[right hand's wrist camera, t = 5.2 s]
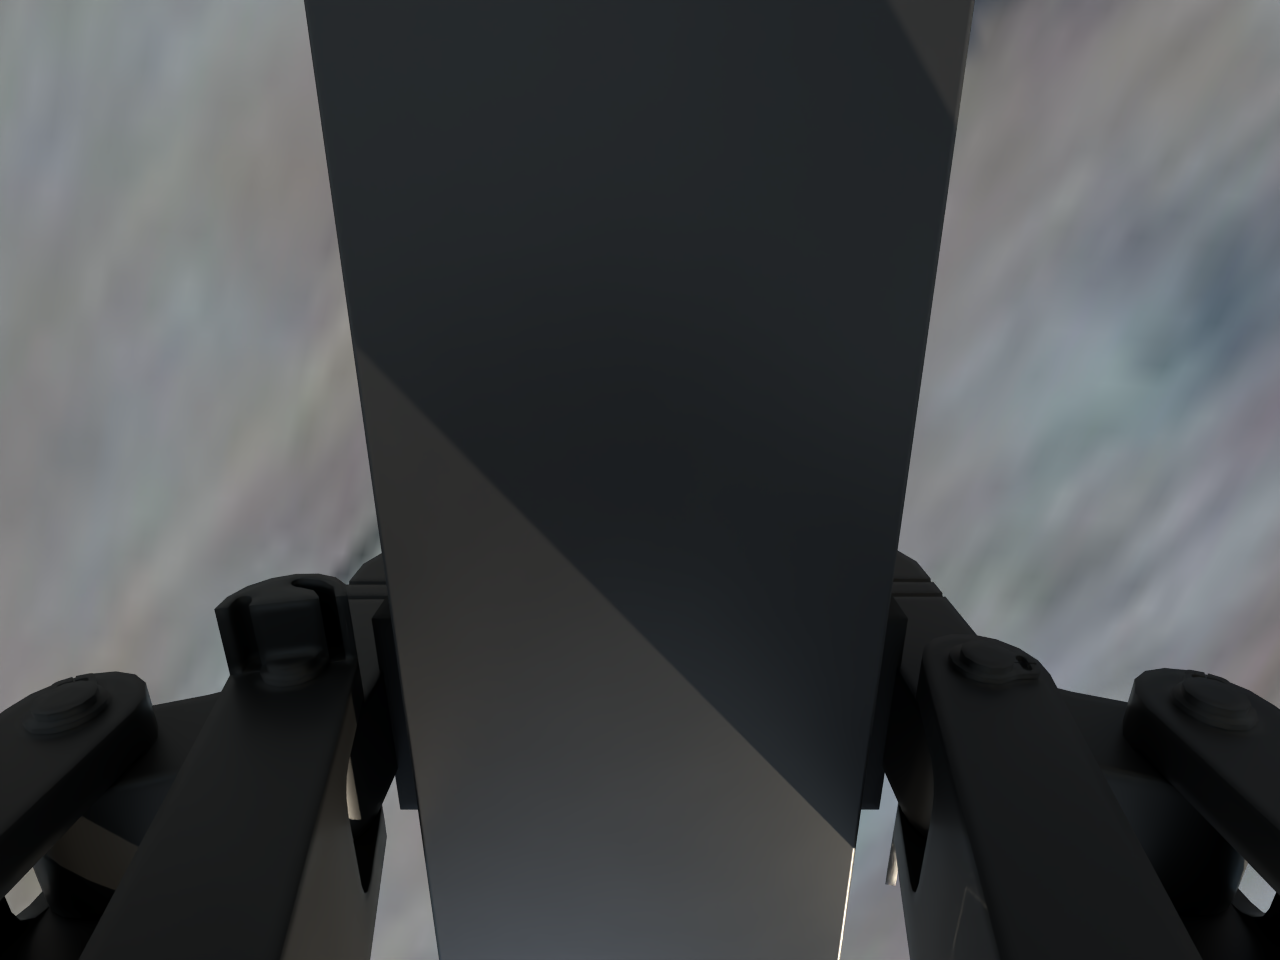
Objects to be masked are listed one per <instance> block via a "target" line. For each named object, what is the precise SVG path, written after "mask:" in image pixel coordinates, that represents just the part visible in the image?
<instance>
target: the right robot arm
mask: <svg viewBox="0 0 1280 960" xmlns="http://www.w3.org/2000/svg"><path fill="white" fill-rule="evenodd" d="M214 610H215V614H216V618H217V622H218V626H219V630H220V635H221V639H222V643H223V647H224V651H225V655H226V660H227V664H228V668H229V672H230V676H229V678H228V680H227V682H226V684H225V686H224V688H223V690H222V691H221V692H218V693H214V694H210V695H206V696H200V697H195V698H190V699H185V700H179V701H174V702H169V703H164V704H158V705H153V706H152V703H151V700H150V696H149V693H148V689H147V686H146V683H145V682H144V681H143V680H142V679H140V678H139V677H138V676H137V675H135V674H129V673H122V672H106V673H95V674H93V673H90V674H84V675H79V676H76V678H73V677H71V678H68V679H64V680H61V681H58V682H56V683H54V684H52V685H51V686H49V687H47V688H44V689H42V690H40V691H37V692H35V693H33V694H30V695H29V696H27V697H25V698H24V699H22V700H21V701H19V702H17V703H16V704H14V705H12V706H11V707H9V708H7V709H6V710H4V711H3V712H2V713H0V960H370V956H371V949H372V941H373V934H374V927H375V919H376V912H377V905H378V897H379V890H380V883H381V875H382V868H383V861H384V853H385V846H386V839H387V835H386V827H385V820H384V814H383V807H382V803H383V801H384V799H385V796H386V794H387V792H388V790H389V787H390V785H391V783H392V781H393V778H394V776H395V777H396V784H397V790H398V797H399V803H400V809H418V806H417V799H416V792H415V785H414V777H413V770H412V763H411V756H410V749H409V742H408V735H407V728H406V721H405V714H404V706H403V699H402V692H401V685H400V678H399V671H398V664H397V657H396V650H395V643H394V635H393V628H392V621H391V614H390V607H389V600H388V593H387V586H386V579H385V572H384V564H383V557H382V553H381V554H380V555H378V556H376V557H374V558H373V559H371V560H369V561H368V562H366V563H364V564H363V565H362V566H361V568H360V569H359V570H358V571H357V572H356V574H355V575H354V576H353V577H352V579H351V580H350V581H349V585H346V584H344V583H343V582H341V581H340V580H339V579H337V578H336V577H331V576H327V575H322V574H293V575H288V576H282V577H276V578H271V579H268V580H265V581H262V582H259V583H256V584H253V585H250V586H247V587H245V588H243V589H241V590H240V591H238V592H236V593H234V594H232V595H230V596H228V597H227V598H226V599H225V600H224V601H223V602H222V603H220V604H219V605H218V606H217V607H216V608H215V609H214ZM884 774H886V776H887V778H888V780H889V783H890V785H891V787H892V789H893V792H894V794H895V796H896V798H897V801H898V807H897V814H896V820H895V826H894V832H893V838H892V844H891V850H890V856H889V863H888V869H887V876H886V884H887V885H892V886H895V884H896V878H897V873H898V874H899V881H900V888H901V896H902V903H903V910H904V918H905V925H906V932H907V940H908V947H909V954H910V960H1280V709H1279V708H1277V707H1276V706H1274V705H1273V704H1271V703H1269V702H1268V701H1266V700H1264V699H1263V698H1261V697H1259V696H1258V695H1256V694H1254V693H1253V692H1251V691H1249V690H1247V689H1245V688H1242V687H1240V686H1237V685H1235V684H1233V683H1230V682H1229V681H1228V680H1226V679H1224V678H1221V677H1218V676H1215V675H1211V674H1208V675H1205V673H1204V672H1199V671H1194V670H1179V669H1169V668H1162V669H1155V670H1149V671H1145V672H1143V673H1142V674H1141V675H1139V676H1138V677H1137V678H1136V679H1135V680H1134V684H1133V687H1132V690H1131V694H1130V697H1129V701H1128V702H1123V701H1118V700H1112V699H1107V698H1102V697H1097V696H1091V695H1086V694H1081V693H1075V692H1071V691H1067V690H1063V689H1059V688H1057V686H1056V685H1055V683H1054V681H1053V679H1052V677H1051V675H1050V674H1049V673H1048V671H1047V670H1046V669H1045V668H1044V667H1043V666H1042V664H1041V663H1040V662H1039V661H1038V660H1037V659H1035V658H1033V657H1032V656H1030V655H1029V654H1027V653H1026V652H1024V651H1022V650H1021V649H1019V648H1017V647H1014V646H1012V645H1009V644H1007V643H1004V642H1002V641H999V640H997V639H992V638H987V637H982V636H977V635H976V633H975V632H974V631H973V630H972V629H971V627H970V626H969V625H968V624H967V622H966V621H965V620H964V619H963V618H962V616H961V615H960V614H959V613H958V612H957V610H956V609H955V608H954V607H953V605H952V604H951V603H950V602H949V601H948V599H947V598H946V597H943V596H942V592H941V591H940V590H939V588H938V587H937V586H936V585H935V583H934V582H931V579H930V577H929V576H928V575H927V574H926V573H925V571H924V570H923V569H922V568H921V566H920V565H919V564H918V563H917V562H916V561H915V560H913V559H911V558H910V557H908V556H906V555H904V554H903V553H901V552H899V551H898V550H897V557H896V564H895V571H894V578H893V585H892V592H891V599H890V607H889V614H888V621H887V628H886V635H885V642H884V649H883V656H882V664H881V671H880V678H879V685H878V692H877V699H876V706H875V713H874V720H873V728H872V735H871V742H870V749H869V756H868V763H867V770H866V777H865V785H864V792H863V799H862V806H861V809H879V807H880V800H881V794H882V787H883V780H884ZM1248 863H1249V864H1250V865H1251V866H1252V867H1253V868H1254V869H1255V870H1256V871H1257V873H1258V874H1259V875H1260V876H1261V877H1262V878H1263V879H1264V880H1265V881H1266V882H1267V883H1268V884H1269V885H1270V886H1271V887H1272V888H1273V889H1274V890H1275V891H1276V894H1275V897H1274V899H1273V901H1272V904H1271V906H1270V908H1269V910H1268V911H1267V912H1266V913H1263V912H1262V911H1261V910H1259V909H1258V908H1257V907H1256V906H1255V905H1254V904H1252V903H1251V902H1250V901H1249V900H1248V899H1247V897H1246V896H1245V895H1244V894H1243V893H1242V892H1241V891H1240V890H1239V889H1238V887H1239V884H1240V882H1241V879H1242V877H1243V874H1244V872H1245V869H1246V867H1247V864H1248ZM32 867H33V868H34V871H35V873H36V876H37V878H38V881H39V883H40V886H41V888H42V892H41V894H40V895H39V896H38V897H37V898H36V899H35V900H34V901H33V902H32V903H31V905H30V906H28V907H27V908H26V909H24V910H23V911H22V912H21V913H19V914H18V915H17V916H15V915H14V914H13V913H12V912H11V910H10V908H9V905H8V903H7V901H6V898H5V895H6V894H7V893H8V892H9V891H10V890H11V889H12V888H13V887H14V886H15V885H16V884H17V883H18V882H19V881H20V880H21V879H22V877H23V876H24V875H25V874H26V873H27V872H28V871H29V870H30V869H31V868H32Z"/></svg>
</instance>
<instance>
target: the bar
mask: <svg viewBox="0 0 1280 960" xmlns="http://www.w3.org/2000/svg"><path fill="white" fill-rule="evenodd" d="M974 1H975V0H304V4H305V11H306V18H307V25H308V32H309V39H310V46H311V53H312V60H313V67H314V75H315V82H316V89H317V96H318V103H319V110H320V117H321V124H322V131H323V138H324V146H325V153H326V160H327V167H328V174H329V181H330V188H331V195H332V202H333V209H334V217H335V224H336V231H337V238H338V245H339V252H340V259H341V266H342V273H343V280H344V288H345V295H346V302H347V309H348V316H349V323H350V330H351V337H352V344H353V351H354V359H355V366H356V373H357V380H358V387H359V394H360V401H361V408H362V415H363V422H364V430H365V437H366V444H367V451H368V458H369V465H370V472H371V479H372V486H373V493H374V501H375V508H376V515H377V522H378V529H379V536H380V543H381V550H382V557H383V564H384V572H385V579H386V586H387V593H388V600H389V607H390V614H391V621H392V628H393V635H394V643H395V650H396V657H397V664H398V671H399V678H400V685H401V692H402V699H403V706H404V714H405V721H406V728H407V735H408V742H409V749H410V756H411V763H412V770H413V777H414V785H415V792H416V799H417V806H418V813H419V820H420V827H421V834H422V841H423V848H424V856H425V863H426V870H427V877H428V884H429V891H430V898H431V905H432V912H433V919H434V927H435V934H436V941H437V948H438V955H439V960H840V955H841V948H842V941H843V934H844V927H845V920H846V913H847V906H848V898H849V891H850V884H851V877H852V870H853V863H854V856H855V849H856V842H857V834H858V827H859V820H860V813H861V806H862V799H863V792H864V785H865V777H866V770H867V763H868V756H869V749H870V742H871V735H872V728H873V720H874V713H875V706H876V699H877V692H878V685H879V678H880V671H881V664H882V656H883V649H884V642H885V635H886V628H887V621H888V614H889V607H890V599H891V592H892V585H893V578H894V571H895V564H896V557H897V550H898V542H899V535H900V528H901V521H902V514H903V507H904V500H905V493H906V486H907V478H908V471H909V464H910V457H911V450H912V443H913V436H914V429H915V421H916V414H917V407H918V400H919V393H920V386H921V379H922V372H923V365H924V357H925V350H926V343H927V336H928V329H929V322H930V315H931V308H932V300H933V293H934V286H935V279H936V272H937V265H938V258H939V251H940V243H941V236H942V229H943V222H944V215H945V208H946V201H947V194H948V187H949V179H950V172H951V165H952V158H953V151H954V144H955V137H956V130H957V122H958V115H959V108H960V101H961V94H962V87H963V80H964V73H965V66H966V58H967V51H968V44H969V37H970V30H971V23H972V16H973V9H974Z"/></svg>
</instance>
